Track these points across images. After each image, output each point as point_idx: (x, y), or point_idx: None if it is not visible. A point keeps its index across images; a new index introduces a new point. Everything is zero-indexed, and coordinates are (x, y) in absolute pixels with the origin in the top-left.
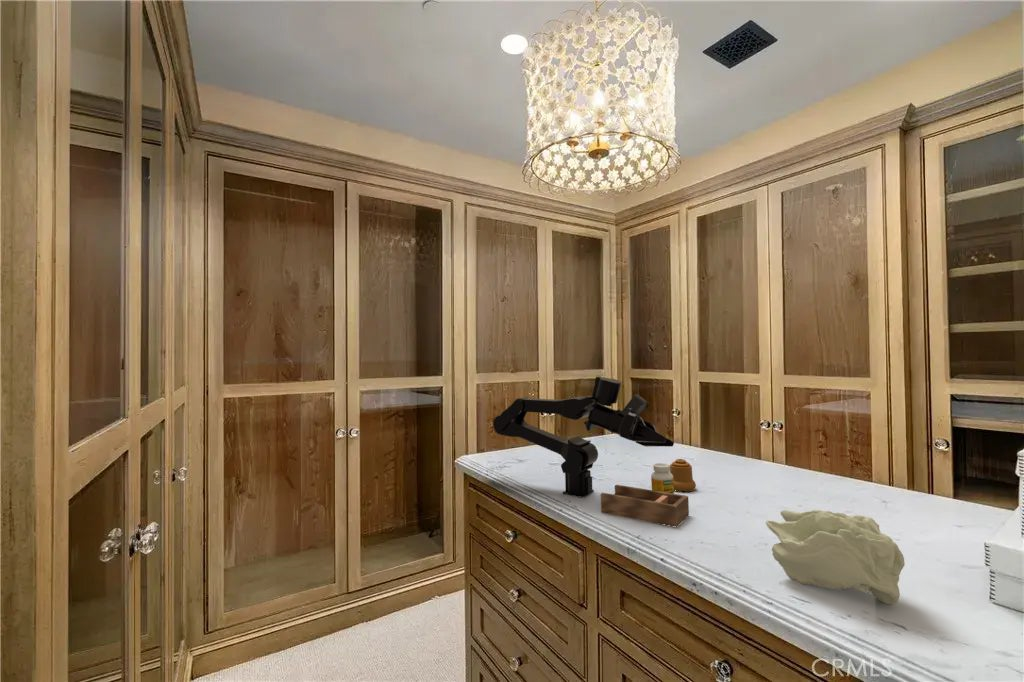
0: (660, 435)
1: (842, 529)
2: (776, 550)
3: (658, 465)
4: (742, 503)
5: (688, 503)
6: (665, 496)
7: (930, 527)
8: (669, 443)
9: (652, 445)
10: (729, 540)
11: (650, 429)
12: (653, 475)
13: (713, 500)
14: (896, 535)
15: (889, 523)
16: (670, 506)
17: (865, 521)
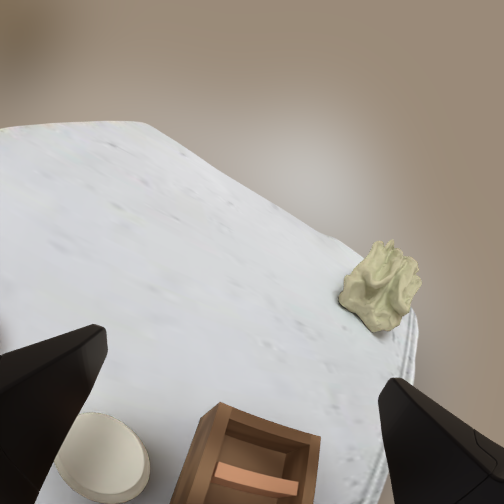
0: (426, 398)
1: (418, 269)
2: (398, 324)
3: (106, 471)
4: (95, 272)
5: (211, 409)
6: (224, 468)
7: (190, 167)
8: (92, 359)
9: (39, 485)
10: (309, 366)
11: (485, 440)
12: (125, 498)
13: (67, 318)
14: (218, 196)
15: (183, 180)
16: (318, 449)
17: (392, 245)
